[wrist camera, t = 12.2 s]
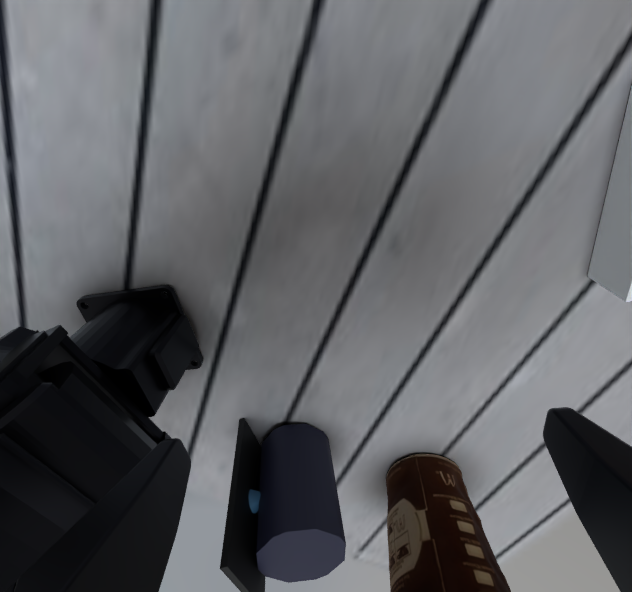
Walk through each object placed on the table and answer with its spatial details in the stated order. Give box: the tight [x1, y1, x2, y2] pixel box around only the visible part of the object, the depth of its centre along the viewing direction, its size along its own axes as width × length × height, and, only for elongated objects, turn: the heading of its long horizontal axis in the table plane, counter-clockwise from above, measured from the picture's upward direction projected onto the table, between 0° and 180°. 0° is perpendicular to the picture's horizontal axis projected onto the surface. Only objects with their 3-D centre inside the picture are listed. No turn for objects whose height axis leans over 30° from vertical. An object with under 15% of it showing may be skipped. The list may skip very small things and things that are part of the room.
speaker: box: [220, 418, 346, 592], centre depth 24 cm, size 8×6×10 cm
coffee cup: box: [386, 454, 511, 592], centre depth 24 cm, size 9×8×13 cm
